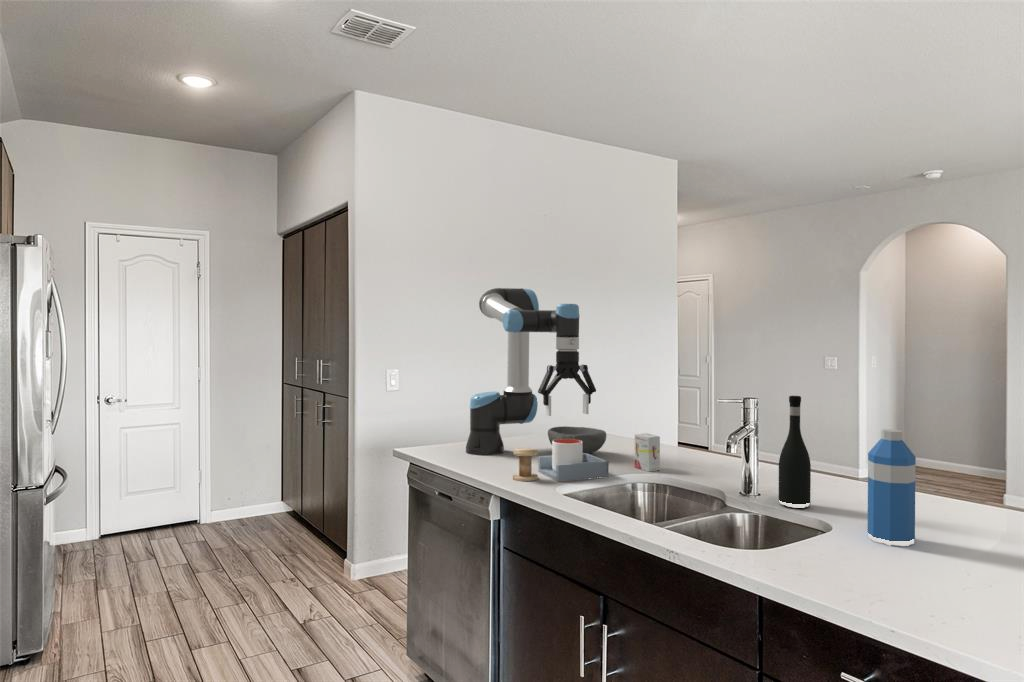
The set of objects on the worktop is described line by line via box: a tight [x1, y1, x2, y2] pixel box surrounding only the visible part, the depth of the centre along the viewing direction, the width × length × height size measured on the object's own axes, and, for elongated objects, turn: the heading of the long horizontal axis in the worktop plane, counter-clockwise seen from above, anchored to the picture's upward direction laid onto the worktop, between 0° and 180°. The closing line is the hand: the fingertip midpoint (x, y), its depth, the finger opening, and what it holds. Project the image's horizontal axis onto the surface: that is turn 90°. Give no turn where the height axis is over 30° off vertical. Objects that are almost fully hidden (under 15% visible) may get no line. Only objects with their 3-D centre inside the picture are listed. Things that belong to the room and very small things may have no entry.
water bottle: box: [867, 428, 917, 541], centre depth 149 cm, size 9×9×25 cm
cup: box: [551, 439, 583, 472], centre depth 218 cm, size 10×10×10 cm
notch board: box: [537, 453, 610, 483], centre depth 218 cm, size 16×18×5 cm
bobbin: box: [512, 448, 539, 482], centre depth 212 cm, size 8×8×9 cm
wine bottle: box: [778, 395, 812, 504], centre depth 179 cm, size 8×8×30 cm
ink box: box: [634, 432, 661, 473], centre depth 228 cm, size 9×5×12 cm, turn 25°
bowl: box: [547, 425, 607, 455], centre depth 253 cm, size 23×22×10 cm
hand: (567, 414), depth 218 cm, fingers open, 13 cm apart
